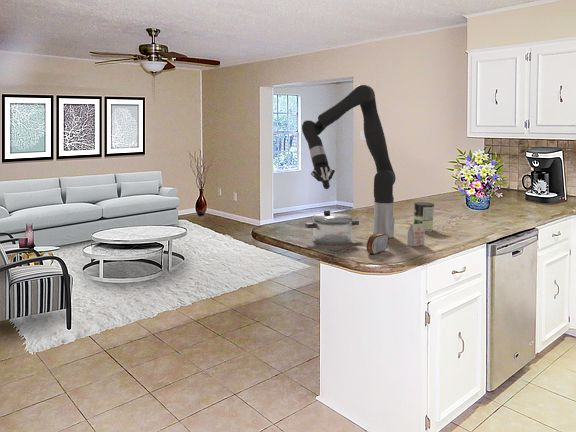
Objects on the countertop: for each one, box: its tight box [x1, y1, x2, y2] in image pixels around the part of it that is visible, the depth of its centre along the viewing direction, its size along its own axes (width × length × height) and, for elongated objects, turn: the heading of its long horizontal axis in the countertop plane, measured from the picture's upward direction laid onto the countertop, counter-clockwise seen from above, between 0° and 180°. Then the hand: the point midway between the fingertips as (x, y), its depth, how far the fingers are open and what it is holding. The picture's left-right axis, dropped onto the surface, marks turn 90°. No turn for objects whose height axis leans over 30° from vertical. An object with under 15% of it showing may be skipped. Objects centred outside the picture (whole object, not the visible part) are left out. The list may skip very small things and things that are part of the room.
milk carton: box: [406, 224, 426, 247], centre depth 235 cm, size 4×7×10 cm, turn 115°
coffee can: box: [412, 201, 435, 232], centre depth 271 cm, size 10×10×14 cm
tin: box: [366, 232, 389, 255], centre depth 221 cm, size 15×3×8 cm, turn 141°
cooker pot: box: [304, 219, 360, 246], centre depth 243 cm, size 27×18×10 cm, turn 112°
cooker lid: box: [312, 209, 354, 224], centre depth 242 cm, size 19×19×4 cm
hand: (327, 188), depth 250 cm, fingers closed
